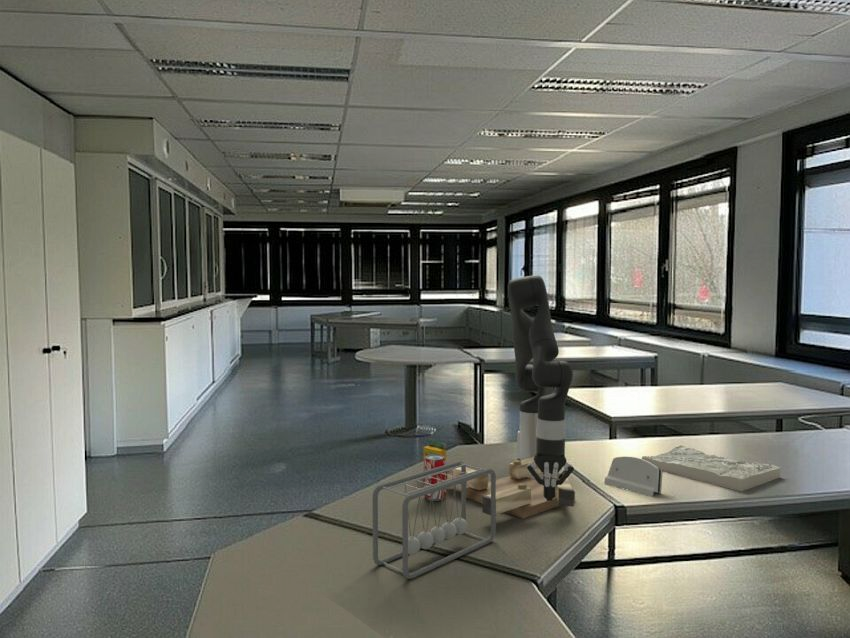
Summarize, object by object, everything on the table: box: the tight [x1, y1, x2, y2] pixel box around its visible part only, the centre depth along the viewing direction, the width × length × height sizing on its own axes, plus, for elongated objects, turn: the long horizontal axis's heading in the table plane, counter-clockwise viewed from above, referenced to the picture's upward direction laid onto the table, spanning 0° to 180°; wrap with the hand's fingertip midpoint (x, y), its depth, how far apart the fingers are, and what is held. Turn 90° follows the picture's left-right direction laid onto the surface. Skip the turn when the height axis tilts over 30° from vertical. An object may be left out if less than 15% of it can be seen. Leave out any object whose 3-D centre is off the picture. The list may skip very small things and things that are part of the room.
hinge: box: [603, 456, 664, 498], centre depth 189 cm, size 17×5×10 cm, turn 40°
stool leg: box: [555, 471, 575, 507], centre depth 172 cm, size 15×4×5 cm, turn 175°
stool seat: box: [446, 457, 576, 519], centre depth 183 cm, size 32×44×8 cm
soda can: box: [423, 455, 447, 502], centre depth 180 cm, size 6×6×12 cm
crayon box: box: [423, 439, 447, 462], centre depth 198 cm, size 7×3×12 cm, turn 47°
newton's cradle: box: [372, 460, 497, 580], centre depth 142 cm, size 30×10×18 cm, turn 135°
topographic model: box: [641, 445, 781, 492], centre depth 205 cm, size 23×34×5 cm
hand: (549, 499), depth 168 cm, fingers closed
